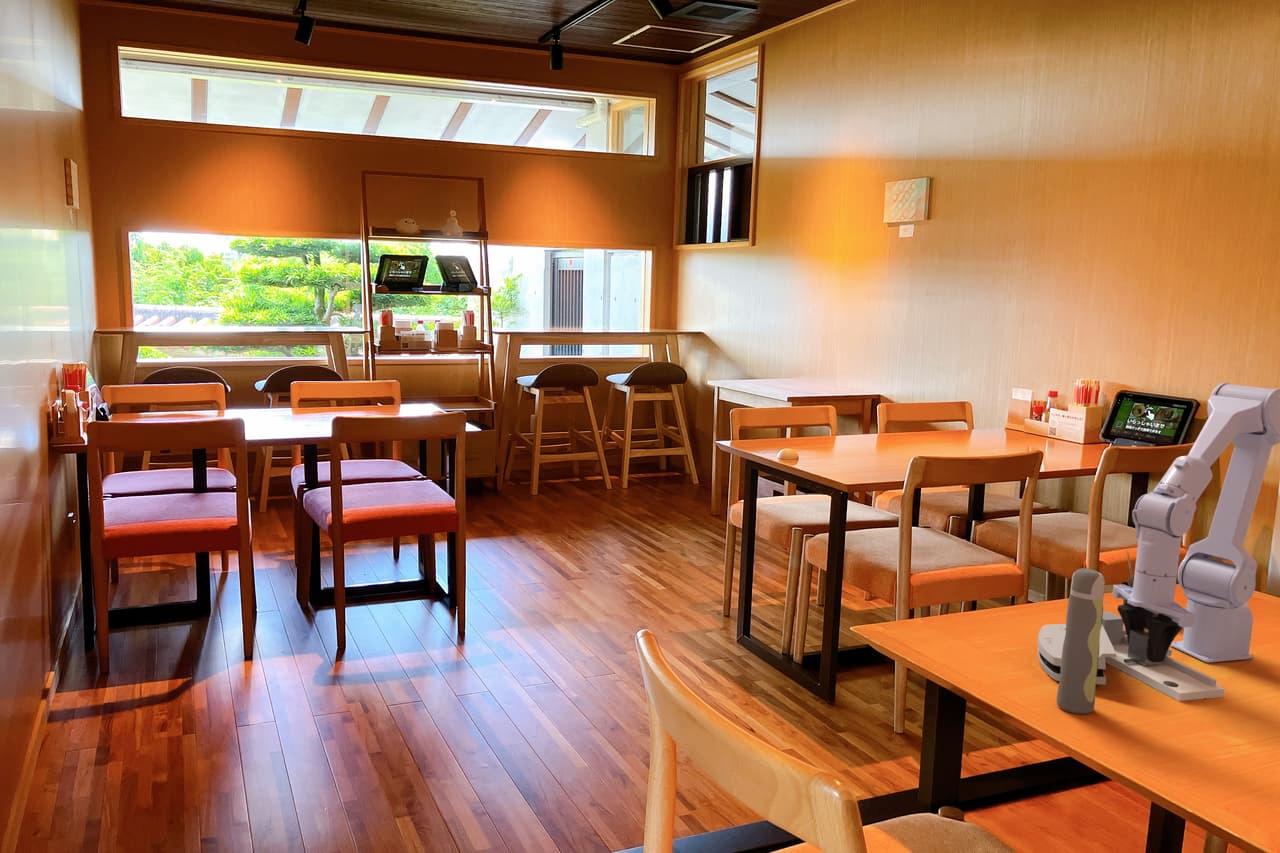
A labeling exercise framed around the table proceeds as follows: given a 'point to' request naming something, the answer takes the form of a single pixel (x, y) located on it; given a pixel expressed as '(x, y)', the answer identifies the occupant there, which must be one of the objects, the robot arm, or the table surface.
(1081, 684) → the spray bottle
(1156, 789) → the table surface
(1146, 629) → the grey slider block
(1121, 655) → the board
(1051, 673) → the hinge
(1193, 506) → the robot arm
